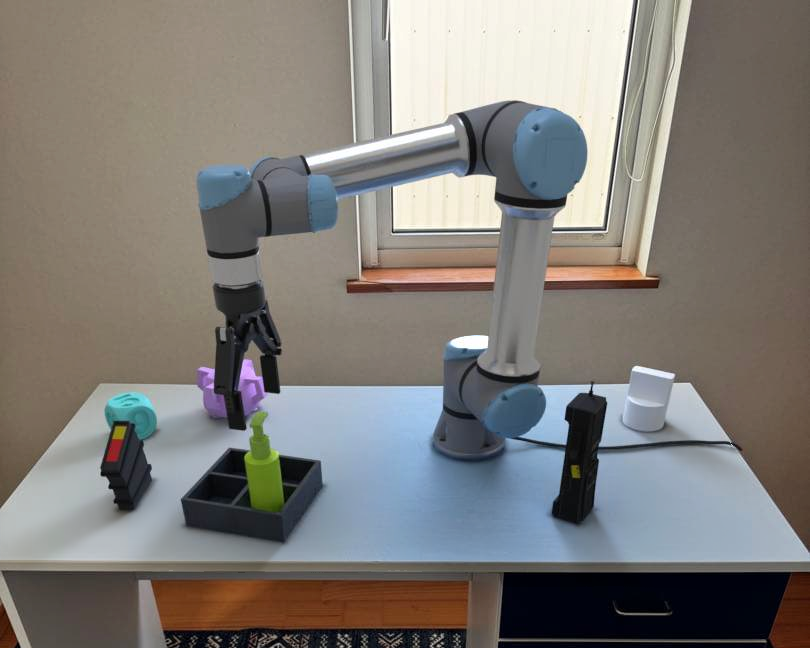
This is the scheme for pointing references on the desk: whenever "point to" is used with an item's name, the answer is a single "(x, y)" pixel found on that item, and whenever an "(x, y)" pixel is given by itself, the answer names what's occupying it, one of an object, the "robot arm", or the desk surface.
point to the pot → (248, 386)
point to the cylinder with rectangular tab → (647, 399)
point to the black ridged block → (126, 465)
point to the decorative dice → (132, 412)
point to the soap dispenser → (263, 469)
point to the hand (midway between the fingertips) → (256, 410)
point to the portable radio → (580, 457)
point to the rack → (230, 499)
